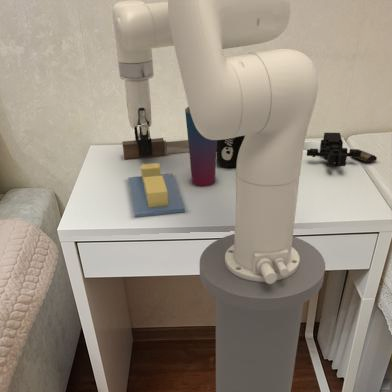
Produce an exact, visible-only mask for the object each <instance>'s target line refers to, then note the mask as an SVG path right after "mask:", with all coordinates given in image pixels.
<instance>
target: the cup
mask: <svg viewBox="0 0 392 392" xmlns="http://www.w3.org/2000/svg"><path fill="white" fill-rule="evenodd" d="M184 112H185V113H184V114H185V123H186V132H187V133H186V134H187V140H188V144H189V152H188V153H189V154H188V155H189V164H190V173H191V182H192V184H193V185H194V186H197V187H206V186H207V187H209V186H211V185H213V184H214V183H215V182H216V170H217V169H216V167H217V140H210V139H207V138H205V137H203V136H202V135H201V134H200V133H199V132H198V130H197V129H196V127H195V125H194V122H193V119H192V117H191V113H190V110H189V106H187V107H186V108H185V109H184Z"/></svg>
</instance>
